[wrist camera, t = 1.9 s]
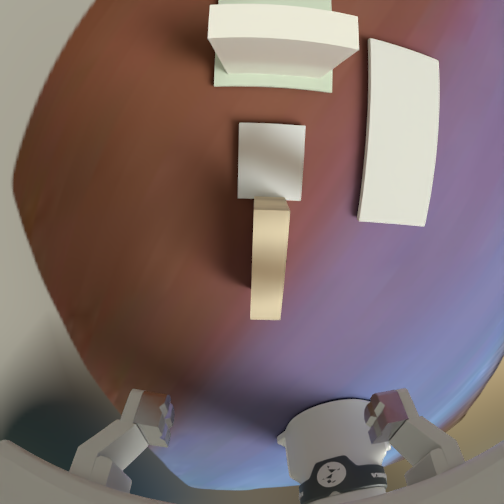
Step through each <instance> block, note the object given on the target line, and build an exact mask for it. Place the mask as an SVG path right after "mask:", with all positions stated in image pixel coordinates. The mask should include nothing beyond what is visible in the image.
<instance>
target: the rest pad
mask: <svg viewBox="0 0 504 504" xmlns="http://www.w3.org/2000/svg"><path fill="white" fill-rule="evenodd" d="M438 125H439V61H438V60H436V59H433V58H431V57H428V56H426V55H423V54H420V53H418V52H415V51H412V50H409V49H406V48H403V47H400V46H397V45H394V44H390V43H387V42H383V41H380V40H376V39H372V38H370V39H368V111H367V129H366V144H365V156H364V166H363V176H362V184H361V193H360V200H359V208H358V215H357V220H358V221H364V222H377V223H390V224H402V225H413V226H425V222H426V217H427V212H428V207H429V201H430V195H431V189H432V183H433V176H434V169H435V160H436V151H437V140H438Z"/></svg>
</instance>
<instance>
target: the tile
mask: <svg viewBox="0 0 504 504" xmlns="http://www.w3.org/2000/svg"><path fill="white" fill-rule="evenodd" d="M208 40H209V42H210V43H211V45H212V47H213V49H214V50H215V52H216V54H217V56H218V58H219V59H220V61H221V63H222V65H223V67H224V68H225V70H226V72H227V74H270V75H286V76H298V77H308V78H316V79H320V78H322V77H323V76H324V75H325V74H327V73H328V72H329V71H331V70H332V69H333V68H335V67H336V66H337V65H339V64H340V63H341V62H343V61H344V60H345V59H347V58H348V57H350V56H351V55H352V54H354V53H355V52H357V51H358V50H359V34H358V17H357V16H353V15H348V14H343V13H338V12H333V11H327V10H321V9H314V8H307V7H298V6H288V5H274V4H217V5H210V11H209V24H208Z"/></svg>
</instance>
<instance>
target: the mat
mask: <svg viewBox="0 0 504 504" xmlns="http://www.w3.org/2000/svg"><path fill="white" fill-rule="evenodd" d="M218 4H274V5H288V6H298V7H307V8H314V9H321V10H327V11H332V10H331V0H219V1H218ZM214 86H215V87H223V86H250V87H276V88H290V89H302V90H311V91H320V92H328V93H332V70H331V71H329V72H328V73H327V74H325V75H324V76H323V77H322V78H320V79H316V78H308V77H298V76H286V75H270V74H227V72H226V70H225V68H224V67H223V65H222V63H221V61H220V59H219V58H218V56H217V54H216V52H215V71H214Z"/></svg>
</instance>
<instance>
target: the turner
mask: <svg viewBox="0 0 504 504" xmlns="http://www.w3.org/2000/svg"><path fill="white" fill-rule="evenodd" d="M304 145H305V126H300V125H287V124H270V123H239V152H238V198H246V199H254V218H253V249H252V281H251V312H250V319H256V320H280V317H281V307H282V297H283V287H284V277H285V266H286V255H287V244H288V231H289V219H290V210H289V207H288V205H287V202H286V200H296V201H301V191H302V177H303V162H304Z"/></svg>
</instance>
